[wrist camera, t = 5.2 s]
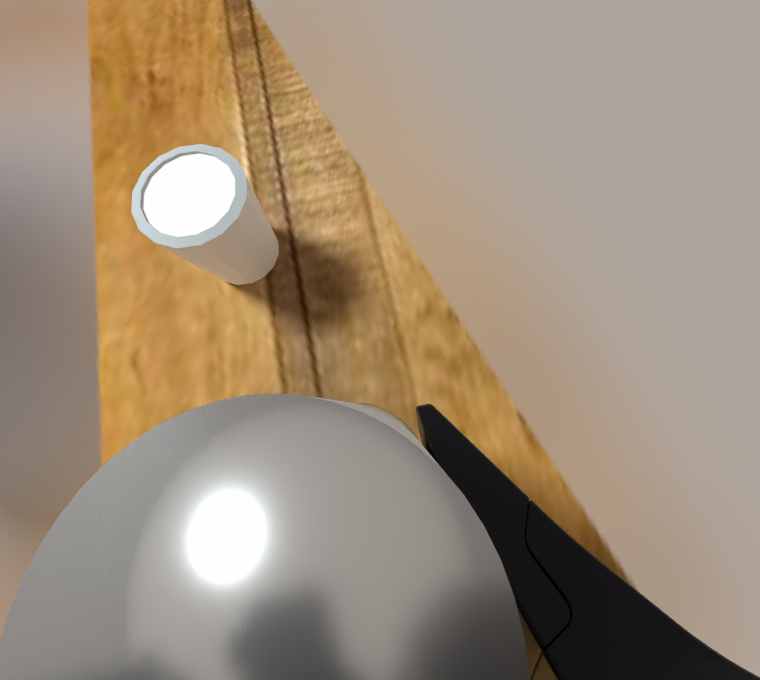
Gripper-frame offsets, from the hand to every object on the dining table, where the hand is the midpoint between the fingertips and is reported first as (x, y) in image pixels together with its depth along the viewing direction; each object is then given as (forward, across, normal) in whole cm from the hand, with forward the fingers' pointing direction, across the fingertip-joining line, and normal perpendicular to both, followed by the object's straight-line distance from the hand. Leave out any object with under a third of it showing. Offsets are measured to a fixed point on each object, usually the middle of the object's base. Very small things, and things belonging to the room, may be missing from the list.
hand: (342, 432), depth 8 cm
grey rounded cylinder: (+4, 0, +6) cm, 7 cm away
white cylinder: (+20, +8, -1) cm, 21 cm away
